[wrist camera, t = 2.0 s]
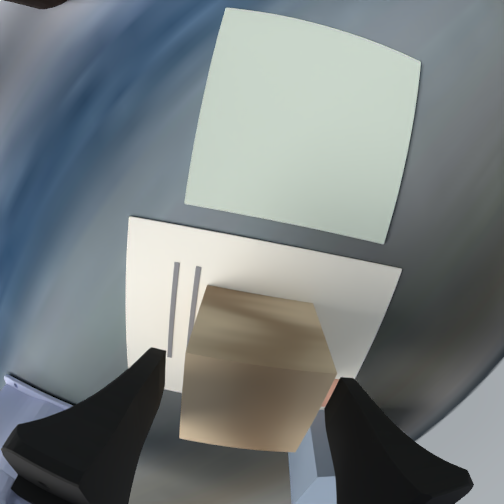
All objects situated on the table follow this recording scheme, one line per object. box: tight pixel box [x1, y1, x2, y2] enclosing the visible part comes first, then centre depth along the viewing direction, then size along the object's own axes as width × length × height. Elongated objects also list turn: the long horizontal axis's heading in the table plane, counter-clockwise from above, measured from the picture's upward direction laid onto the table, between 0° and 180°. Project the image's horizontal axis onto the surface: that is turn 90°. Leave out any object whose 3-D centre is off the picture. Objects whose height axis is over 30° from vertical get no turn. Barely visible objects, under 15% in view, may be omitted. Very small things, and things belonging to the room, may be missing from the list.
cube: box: [288, 410, 337, 504], centre depth 15 cm, size 5×5×5 cm
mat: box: [184, 8, 421, 244], centre depth 11 cm, size 9×9×1 cm
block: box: [179, 285, 337, 452], centre depth 12 cm, size 5×5×5 cm
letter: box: [126, 216, 402, 410], centre depth 15 cm, size 13×10×1 cm
